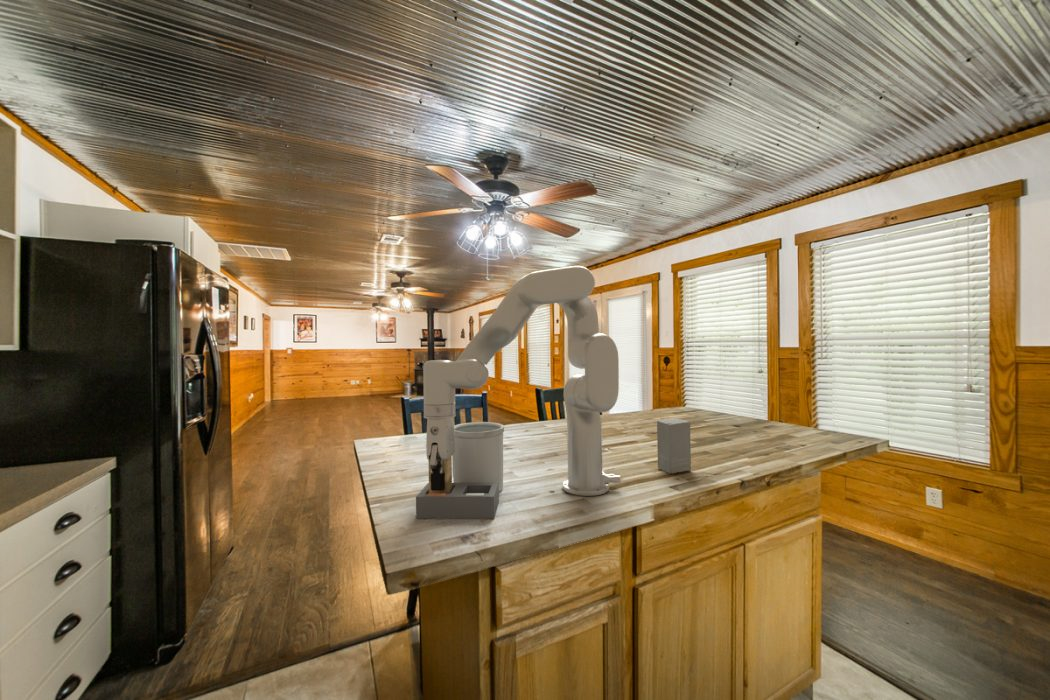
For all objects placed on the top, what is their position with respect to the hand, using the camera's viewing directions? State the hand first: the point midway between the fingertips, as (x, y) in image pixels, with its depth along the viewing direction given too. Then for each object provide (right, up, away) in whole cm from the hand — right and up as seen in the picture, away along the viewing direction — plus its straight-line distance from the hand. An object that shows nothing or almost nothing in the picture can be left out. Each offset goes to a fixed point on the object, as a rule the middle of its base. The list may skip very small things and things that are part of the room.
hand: (440, 485), depth 96 cm
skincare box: (+68, -5, +29) cm, 74 cm away
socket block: (+5, -6, 0) cm, 7 cm away
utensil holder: (+7, -6, +15) cm, 18 cm away
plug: (0, -3, 0) cm, 3 cm away
